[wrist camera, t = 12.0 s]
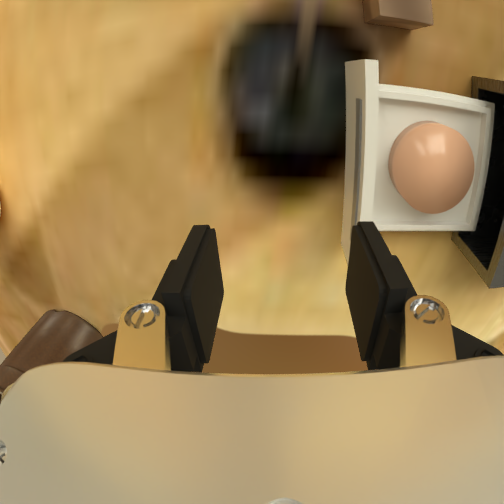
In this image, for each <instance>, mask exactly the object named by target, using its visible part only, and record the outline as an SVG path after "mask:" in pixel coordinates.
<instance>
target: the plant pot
mask: <svg viewBox="0 0 504 504" xmlns="http://www.w3.org/2000/svg"><path fill="white" fill-rule="evenodd" d="M101 338H103V336H102V335H101V334H100V333H99V332H98V331H97V330H96V329H95V328H94V327H93V326H91V325H90V324H89V323H88V322H86V321H85V320H83V319H82V318H80V317H78V316H76V315H75V314H73V313H70V312H67V311H61V312H56V311H55V310H50V311H47V312H46V313H45V314H44V315H43V316H42V317H41V318H40V319H39V321H38V322H37V323H36V324H35V325H34V326H33V327H32V329H31V330H30V331H29V332H28V333H27V334H26V335H25V337H24V338H23V339H22V340H21V341H20V342H19V344H18V345H17V346H16V347H15V348H14V349H13V351H12V352H11V353H10V354H9V355H8V356H7V358H6V359H5V360H4V361H3V363H2V364H1V365H0V404H1V397H2V394H3V392H4V390H5V389H6V388H7V387H8V386H9V385H11V384H13V383H15V382H16V381H17V379H18V378H19V377H20V376H21V375H23V374H24V373H25V372H27V371H28V370H30V369H33V368H35V367H38V366H41V365H46V364H51V363H56V362H62V361H63V360H64V359H65V358H66V357H67V356H69V355H70V354H72V353H74V352H76V351H78V350H80V349H82V348H84V347H86V346H88V345H89V344H91V343H93V342H95V341H97V340H99V339H101Z"/></svg>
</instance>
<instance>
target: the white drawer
mask: <svg viewBox="0 0 504 504" xmlns="http://www.w3.org/2000/svg"><path fill="white" fill-rule="evenodd" d="M345 77H346V159H345V187H344V206H343V222H342V235H341V245H342V248H343V251H344V254H345V258H346V261H347V264H348V262H349V253H350V243H351V232H352V226H353V225H357V223H358V221H373V222H374V224H375V225H376V227H377V229H378V231H475V230H476V226H477V222H478V218H479V213H480V209H481V204H482V199H483V195H484V189H485V184H486V178H487V172H488V166H489V159H490V152H491V144H492V135H493V125H494V111H495V104H494V103H491V102H487V101H483V100H478V99H474V98H469V97H465V96H460V95H455V94H450V93H444V92H439V91H433V90H426V89H420V88H412V87H405V86H396V85H387V84H379V70H378V60H369V59H362V60H355V61H348V62H345ZM419 121H435V122H438V123H441V124H443V125H446V126H448V127H450V128H452V129H454V130H456V131H458V132H459V133H460V134H461V135H462V136H463V137H464V138H465V139H466V140H467V142H468V143H469V145H470V147H471V150H472V153H473V157H474V176H473V181H472V184H471V186H470V188H469V190H468V192H467V194H466V195H465V197H464V198H463V199H462V200H461V201H460V202H459V203H458V204H457V205H456V206H454V207H453V208H451V209H450V210H447V211H445V212H442V213H437V214H428V213H423V212H420V211H418V210H416V209H414V208H413V207H412V206H410V205H409V204H408V203H407V202H406V201H405V199H404V198H403V197H402V196H401V195H400V194H399V192H398V191H397V190H396V189H395V187H394V185H393V183H392V181H391V179H390V175H389V169H388V160H389V154H390V150H391V147H392V145H393V143H394V141H395V139H396V138H397V136H398V135H399V134H400V133H401V132H402V131H403V130H404V129H405V128H406V127H408V126H409V125H411V124H413V123H416V122H419Z"/></svg>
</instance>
